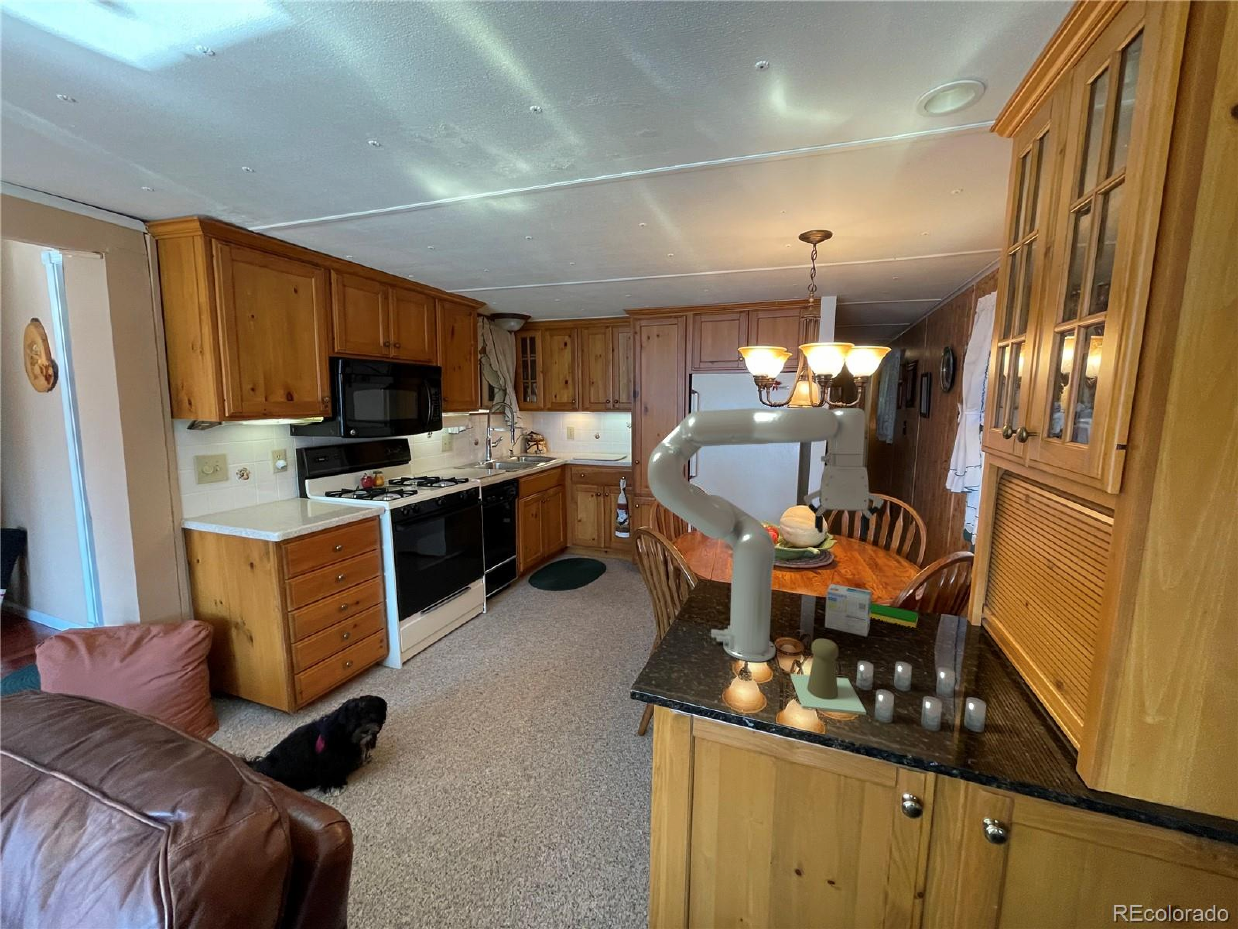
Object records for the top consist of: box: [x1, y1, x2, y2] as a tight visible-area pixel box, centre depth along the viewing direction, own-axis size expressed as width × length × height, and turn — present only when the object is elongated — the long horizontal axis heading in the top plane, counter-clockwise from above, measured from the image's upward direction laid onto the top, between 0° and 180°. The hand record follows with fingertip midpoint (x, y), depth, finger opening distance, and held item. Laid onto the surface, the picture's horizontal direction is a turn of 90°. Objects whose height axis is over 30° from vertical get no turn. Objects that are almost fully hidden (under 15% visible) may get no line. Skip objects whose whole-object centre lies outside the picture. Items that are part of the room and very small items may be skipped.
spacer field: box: [855, 660, 987, 733], centre depth 98 cm, size 19×16×5 cm
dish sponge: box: [870, 602, 919, 629], centre depth 140 cm, size 7×14×2 cm, turn 54°
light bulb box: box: [824, 583, 872, 637], centre depth 133 cm, size 11×7×11 cm, turn 57°
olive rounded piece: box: [807, 638, 840, 700], centre depth 101 cm, size 6×6×11 cm
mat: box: [790, 673, 867, 716], centre depth 102 cm, size 12×12×1 cm
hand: (841, 532), depth 115 cm, fingers open, 9 cm apart
